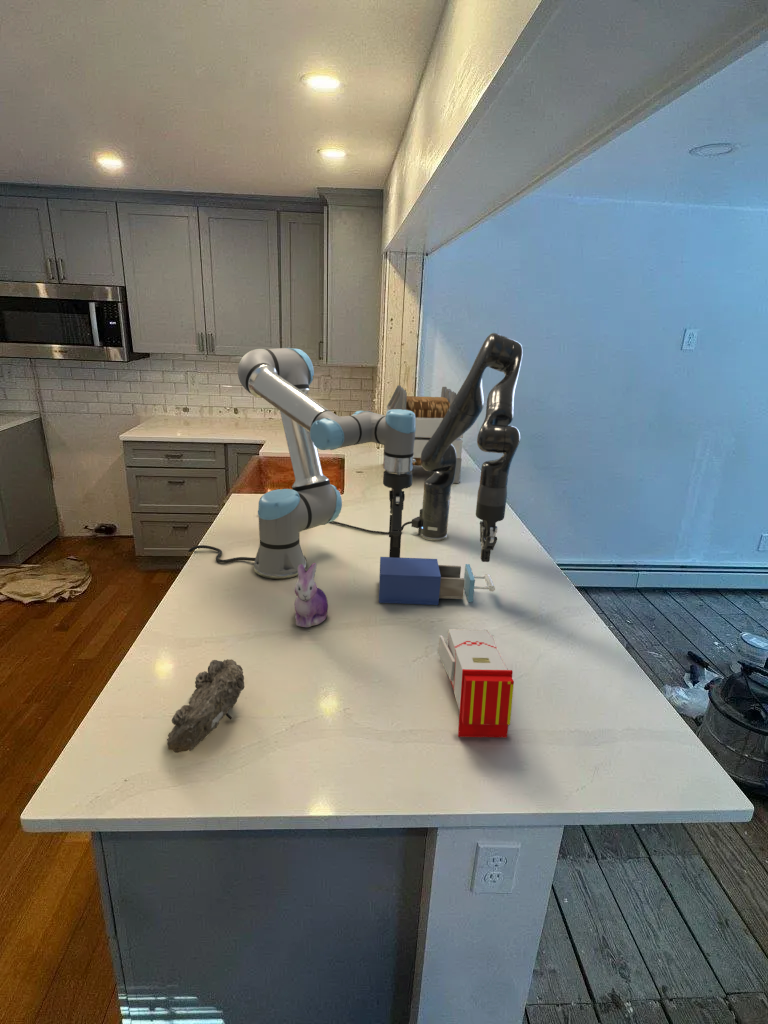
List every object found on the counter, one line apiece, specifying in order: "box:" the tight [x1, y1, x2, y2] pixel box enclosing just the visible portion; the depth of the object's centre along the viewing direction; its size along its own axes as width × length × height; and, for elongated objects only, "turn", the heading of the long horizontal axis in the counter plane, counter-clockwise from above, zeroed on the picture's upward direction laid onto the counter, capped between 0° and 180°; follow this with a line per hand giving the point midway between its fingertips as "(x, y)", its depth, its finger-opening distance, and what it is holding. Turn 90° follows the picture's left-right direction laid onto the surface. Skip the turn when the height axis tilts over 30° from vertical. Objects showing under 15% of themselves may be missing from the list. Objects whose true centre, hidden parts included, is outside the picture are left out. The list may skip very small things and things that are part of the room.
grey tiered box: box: [383, 384, 464, 484], centre depth 268 cm, size 34×33×41 cm
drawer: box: [438, 563, 496, 603], centre depth 157 cm, size 21×10×7 cm, turn 90°
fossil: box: [166, 658, 245, 754], centre depth 106 cm, size 22×10×15 cm
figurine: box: [293, 562, 329, 628], centre depth 140 cm, size 9×10×15 cm
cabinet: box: [378, 556, 441, 606], centre depth 157 cm, size 16×11×8 cm
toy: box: [437, 628, 515, 738], centre depth 117 cm, size 12×13×30 cm
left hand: (394, 546), depth 153 cm, fingers open, 13 cm apart
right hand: (484, 560), depth 155 cm, fingers closed
